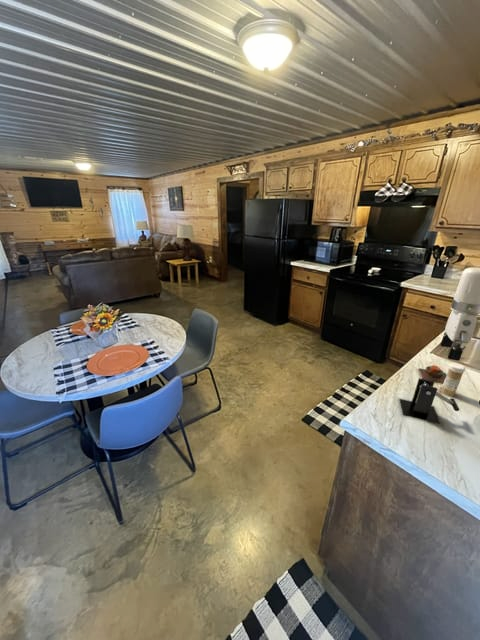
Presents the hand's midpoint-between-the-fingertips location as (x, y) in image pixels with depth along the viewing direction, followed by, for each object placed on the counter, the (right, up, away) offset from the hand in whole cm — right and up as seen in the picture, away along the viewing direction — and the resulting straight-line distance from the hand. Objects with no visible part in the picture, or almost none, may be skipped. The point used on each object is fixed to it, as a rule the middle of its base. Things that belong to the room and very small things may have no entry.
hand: (449, 352), depth 91 cm
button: (+12, -11, +23) cm, 27 cm away
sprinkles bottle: (+9, -18, +13) cm, 24 cm away
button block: (+11, -14, +22) cm, 29 cm away
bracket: (-9, -22, +3) cm, 24 cm away
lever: (-5, -15, -1) cm, 16 cm away
